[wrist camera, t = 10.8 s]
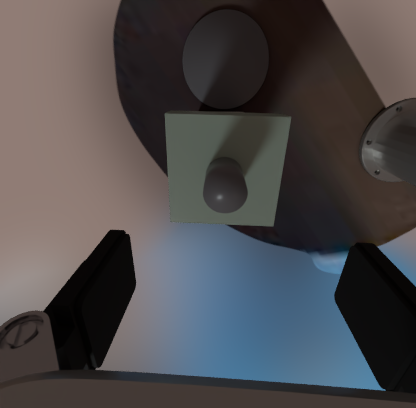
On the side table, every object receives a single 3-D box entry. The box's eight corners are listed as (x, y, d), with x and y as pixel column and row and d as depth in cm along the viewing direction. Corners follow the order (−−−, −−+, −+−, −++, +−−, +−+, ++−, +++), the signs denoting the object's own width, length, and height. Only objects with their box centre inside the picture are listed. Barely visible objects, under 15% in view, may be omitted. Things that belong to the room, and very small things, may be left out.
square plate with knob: (283, 113, 21) (308, 124, 15) (268, 213, 25) (283, 252, 19) (170, 110, 21) (151, 119, 15) (174, 209, 25) (161, 246, 20)
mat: (274, 11, 31) (274, 10, 31) (262, 110, 37) (263, 110, 36) (182, 9, 32) (181, 8, 31) (183, 107, 37) (183, 107, 36)
